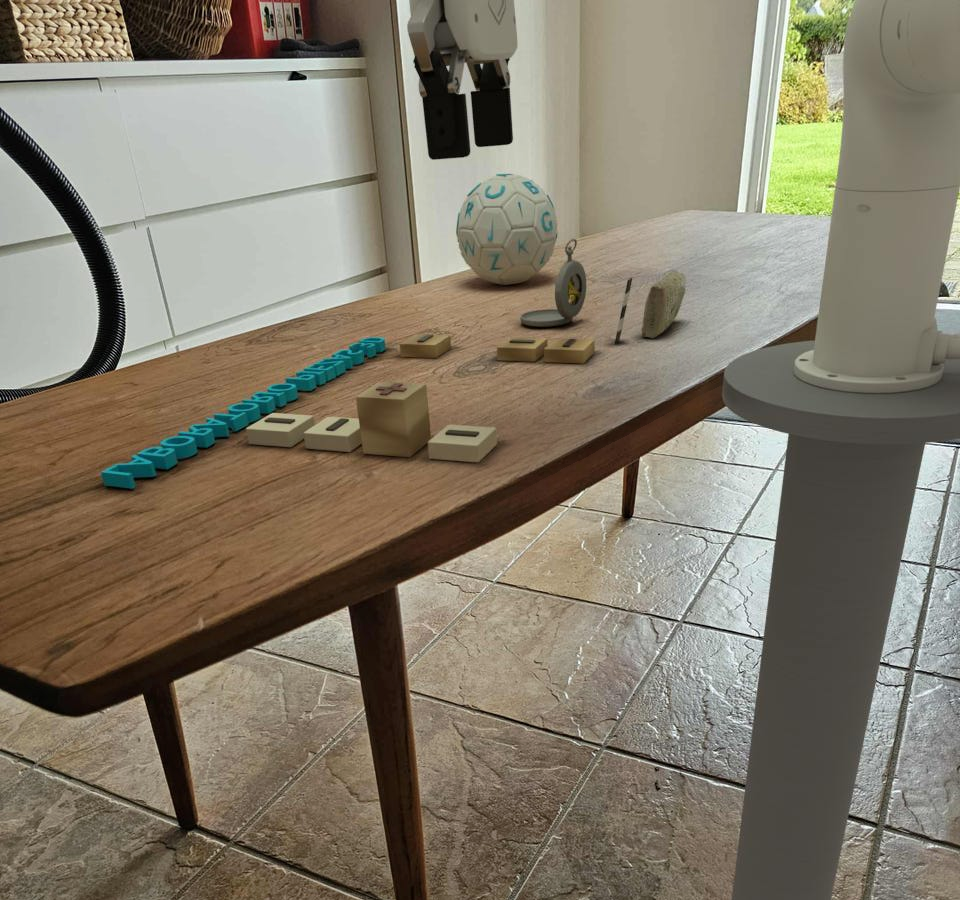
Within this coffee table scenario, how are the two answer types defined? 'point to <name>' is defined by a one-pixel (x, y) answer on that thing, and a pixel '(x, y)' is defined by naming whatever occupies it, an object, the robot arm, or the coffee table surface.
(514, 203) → the puzzle ball
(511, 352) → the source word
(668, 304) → the stone and scale-bar
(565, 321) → the pocket watch
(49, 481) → the coffee table surface
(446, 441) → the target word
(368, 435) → the letter block
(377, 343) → the text ornament
